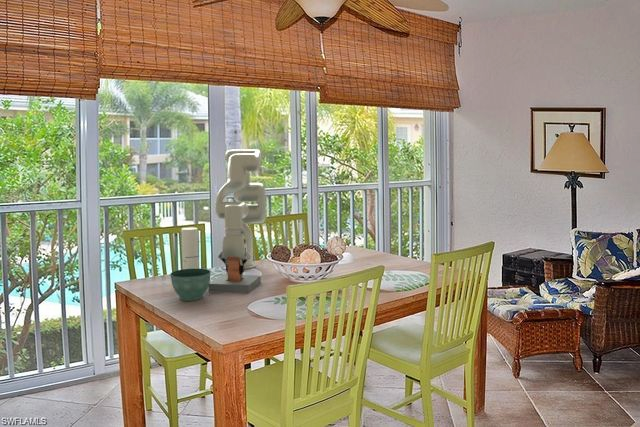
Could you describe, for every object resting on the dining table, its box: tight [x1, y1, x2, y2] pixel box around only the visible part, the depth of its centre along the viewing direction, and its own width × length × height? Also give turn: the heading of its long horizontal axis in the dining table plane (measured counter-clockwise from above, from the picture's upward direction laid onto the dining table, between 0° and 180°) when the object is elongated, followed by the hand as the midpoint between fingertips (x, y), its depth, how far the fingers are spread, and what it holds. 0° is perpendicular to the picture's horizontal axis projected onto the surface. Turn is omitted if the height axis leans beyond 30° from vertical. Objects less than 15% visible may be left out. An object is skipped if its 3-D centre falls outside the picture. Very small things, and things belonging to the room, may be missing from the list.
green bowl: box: [170, 268, 212, 302], centre depth 251 cm, size 16×16×11 cm
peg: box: [227, 257, 243, 282], centre depth 268 cm, size 5×5×12 cm
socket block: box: [207, 273, 262, 294], centre depth 269 cm, size 18×18×4 cm
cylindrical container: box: [180, 226, 200, 269], centre depth 276 cm, size 7×7×25 cm
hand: (234, 273), depth 269 cm, fingers closed on peg, 4 cm apart
